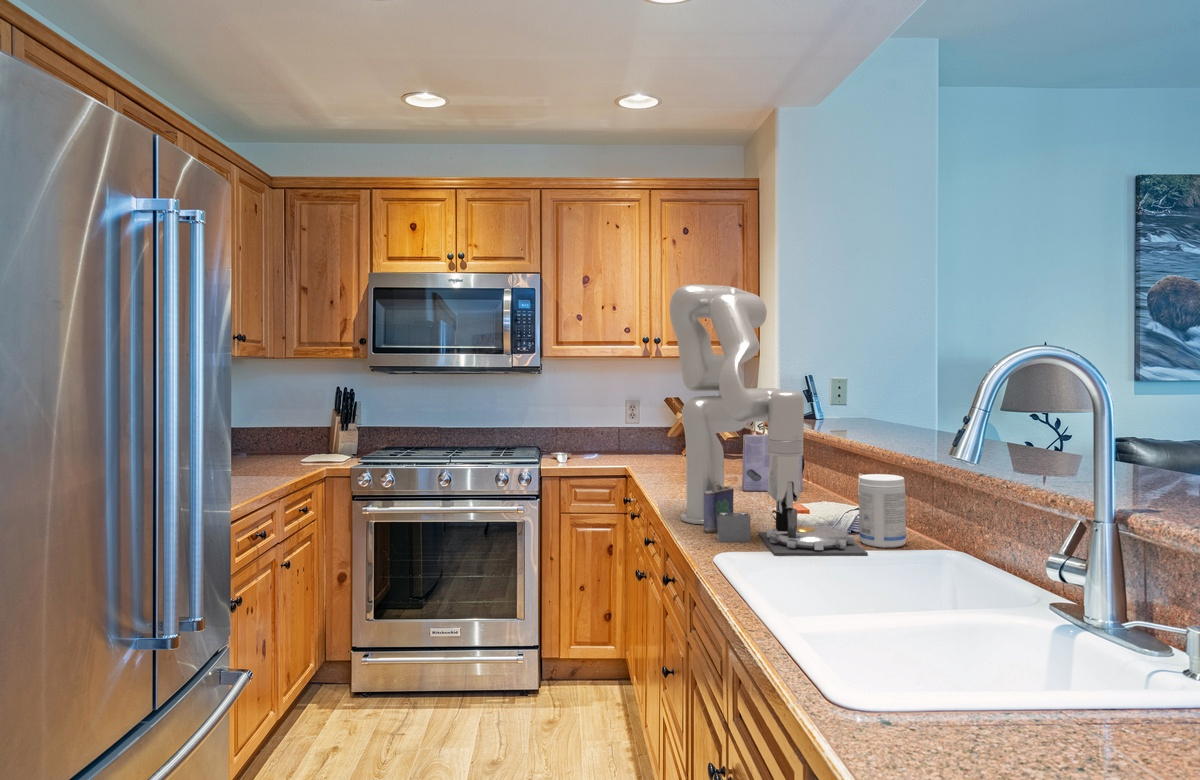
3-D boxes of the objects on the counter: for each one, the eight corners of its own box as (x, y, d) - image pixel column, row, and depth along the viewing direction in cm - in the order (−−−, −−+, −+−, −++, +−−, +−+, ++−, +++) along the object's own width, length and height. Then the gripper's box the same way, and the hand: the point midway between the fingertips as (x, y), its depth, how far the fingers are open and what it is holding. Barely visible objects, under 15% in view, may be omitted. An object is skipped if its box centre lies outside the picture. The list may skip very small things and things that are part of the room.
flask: (710, 534, 172) (710, 485, 171) (699, 531, 174) (699, 483, 174) (736, 527, 178) (736, 480, 178) (725, 525, 181) (725, 479, 180)
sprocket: (760, 545, 156) (760, 510, 155) (773, 528, 172) (773, 496, 172) (851, 552, 149) (851, 516, 149) (855, 533, 165) (855, 501, 165)
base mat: (758, 534, 170) (758, 531, 170) (840, 534, 170) (840, 531, 170) (774, 555, 151) (774, 551, 151) (867, 555, 151) (867, 551, 151)
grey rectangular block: (716, 539, 167) (716, 511, 167) (747, 538, 167) (747, 511, 167) (718, 542, 164) (718, 514, 163) (750, 542, 163) (750, 514, 163)
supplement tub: (906, 540, 163) (906, 474, 163) (905, 550, 155) (905, 481, 154) (860, 536, 167) (860, 472, 167) (857, 546, 158) (857, 478, 158)
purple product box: (803, 489, 232) (803, 433, 231) (806, 492, 227) (806, 435, 226) (741, 489, 234) (741, 433, 233) (743, 491, 229) (743, 435, 228)
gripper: (761, 443, 167) (759, 522, 169) (775, 452, 153) (774, 539, 154) (794, 443, 167) (792, 522, 168) (811, 452, 152) (810, 539, 153)
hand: (783, 530), depth 161 cm, fingers closed
